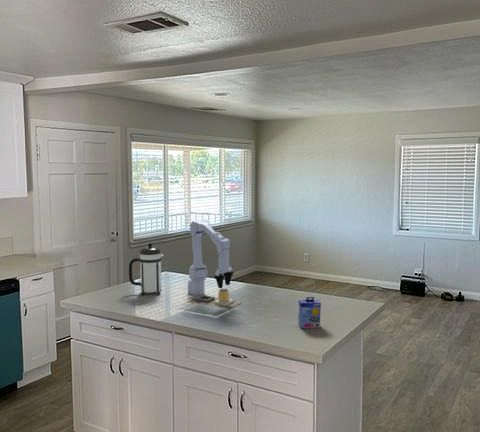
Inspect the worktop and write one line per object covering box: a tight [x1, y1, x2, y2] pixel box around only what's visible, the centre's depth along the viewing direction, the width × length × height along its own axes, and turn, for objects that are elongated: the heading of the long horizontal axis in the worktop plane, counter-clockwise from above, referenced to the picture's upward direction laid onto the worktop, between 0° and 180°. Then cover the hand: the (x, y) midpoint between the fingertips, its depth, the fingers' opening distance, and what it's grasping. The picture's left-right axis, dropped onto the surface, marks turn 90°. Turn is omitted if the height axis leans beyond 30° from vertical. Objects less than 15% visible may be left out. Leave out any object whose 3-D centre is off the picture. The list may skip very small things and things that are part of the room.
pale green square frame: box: [214, 298, 235, 306], centre depth 260 cm, size 8×8×2 cm
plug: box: [218, 287, 230, 302], centre depth 260 cm, size 4×4×8 cm
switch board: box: [188, 295, 243, 311], centre depth 263 cm, size 26×14×1 cm, turn 61°
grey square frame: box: [196, 294, 216, 303], centre depth 266 cm, size 8×8×2 cm
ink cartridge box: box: [297, 296, 322, 329], centre depth 225 cm, size 10×6×14 cm, turn 95°
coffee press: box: [128, 242, 165, 296], centre depth 284 cm, size 17×16×30 cm
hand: (223, 286), depth 260 cm, fingers open, 7 cm apart
